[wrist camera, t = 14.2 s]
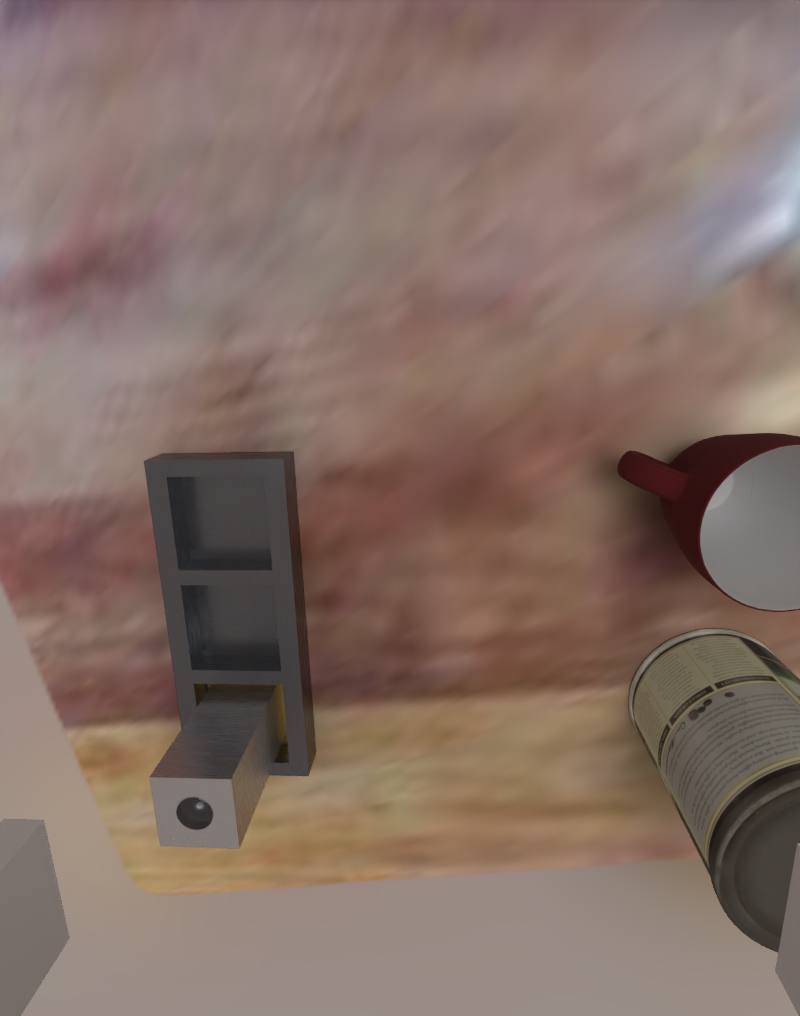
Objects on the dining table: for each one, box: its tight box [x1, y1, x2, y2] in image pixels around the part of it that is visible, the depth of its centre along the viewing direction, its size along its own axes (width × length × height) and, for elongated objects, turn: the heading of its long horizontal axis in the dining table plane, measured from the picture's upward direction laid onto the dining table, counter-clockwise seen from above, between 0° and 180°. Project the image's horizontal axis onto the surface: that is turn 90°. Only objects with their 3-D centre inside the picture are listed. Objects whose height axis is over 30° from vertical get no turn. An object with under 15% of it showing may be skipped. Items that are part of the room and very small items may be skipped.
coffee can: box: [629, 629, 800, 952], centre depth 34 cm, size 10×10×14 cm
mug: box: [618, 433, 800, 612], centre depth 32 cm, size 11×8×10 cm
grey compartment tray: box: [144, 452, 316, 776], centre depth 40 cm, size 22×9×2 cm, turn 2°
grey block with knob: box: [149, 684, 285, 849], centre depth 38 cm, size 4×4×10 cm
